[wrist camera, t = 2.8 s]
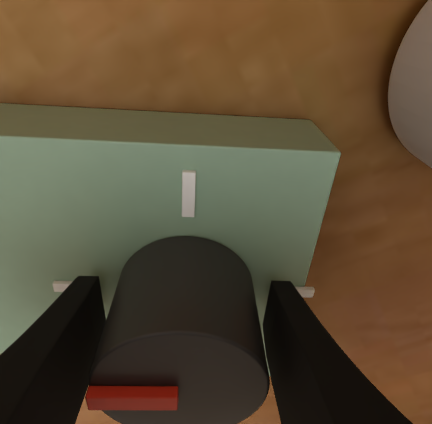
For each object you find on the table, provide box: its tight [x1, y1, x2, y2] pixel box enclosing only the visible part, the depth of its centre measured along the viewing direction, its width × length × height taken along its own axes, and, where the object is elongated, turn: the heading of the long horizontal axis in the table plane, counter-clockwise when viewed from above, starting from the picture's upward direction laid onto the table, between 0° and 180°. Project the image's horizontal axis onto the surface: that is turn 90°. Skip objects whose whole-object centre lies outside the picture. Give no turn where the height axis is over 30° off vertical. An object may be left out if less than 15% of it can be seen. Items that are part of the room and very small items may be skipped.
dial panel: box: [0, 103, 341, 376], centre depth 12 cm, size 12×10×3 cm
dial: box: [85, 236, 270, 424], centre depth 9 cm, size 4×4×4 cm
